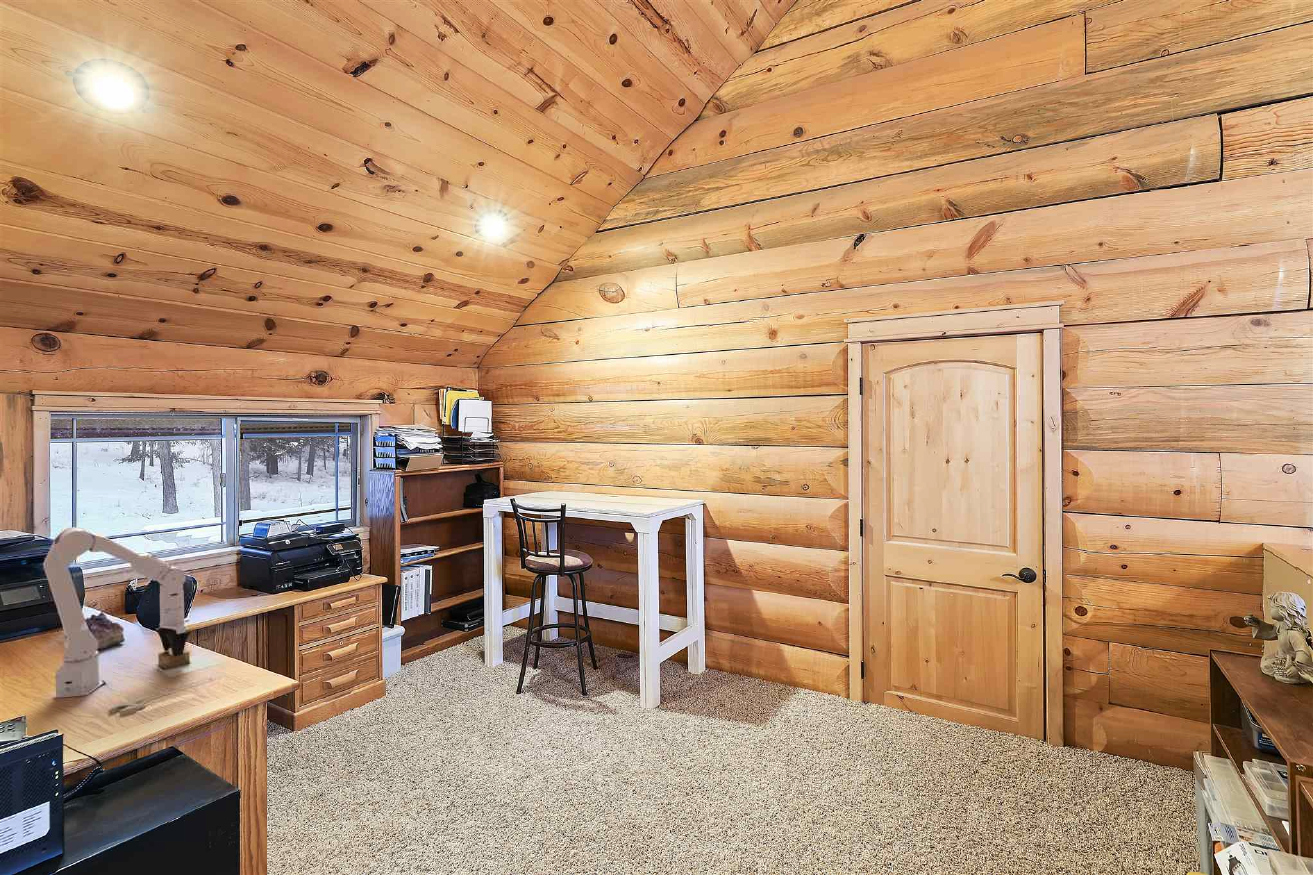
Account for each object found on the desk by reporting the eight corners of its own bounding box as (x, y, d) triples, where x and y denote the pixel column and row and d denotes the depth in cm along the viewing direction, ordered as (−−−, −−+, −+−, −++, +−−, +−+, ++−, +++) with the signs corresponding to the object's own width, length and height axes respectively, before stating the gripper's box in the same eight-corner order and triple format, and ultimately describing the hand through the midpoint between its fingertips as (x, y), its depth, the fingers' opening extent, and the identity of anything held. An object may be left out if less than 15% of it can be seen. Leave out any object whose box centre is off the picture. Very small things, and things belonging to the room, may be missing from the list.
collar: (189, 662, 194) (189, 651, 194) (165, 669, 190) (165, 657, 189) (182, 658, 198) (182, 647, 198) (158, 664, 193) (158, 653, 193)
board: (219, 667, 194) (219, 664, 194) (170, 680, 184) (170, 677, 184) (201, 657, 202) (201, 654, 202) (154, 669, 192) (153, 665, 192)
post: (191, 663, 194) (191, 646, 194) (163, 670, 189) (163, 653, 189) (183, 658, 199) (182, 641, 198) (155, 665, 193) (154, 648, 193)
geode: (63, 644, 215) (67, 613, 216) (107, 639, 225) (111, 609, 226) (80, 654, 203) (84, 621, 204) (126, 649, 212) (130, 617, 214)
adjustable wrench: (218, 680, 185) (218, 674, 185) (228, 685, 181) (228, 679, 181) (107, 713, 165) (107, 706, 164) (116, 719, 161) (115, 712, 161)
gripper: (197, 608, 192) (198, 653, 192) (179, 600, 201) (180, 643, 201) (168, 614, 186) (169, 661, 187) (151, 605, 195) (152, 650, 196)
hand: (173, 652), depth 194 cm, fingers open, 7 cm apart
